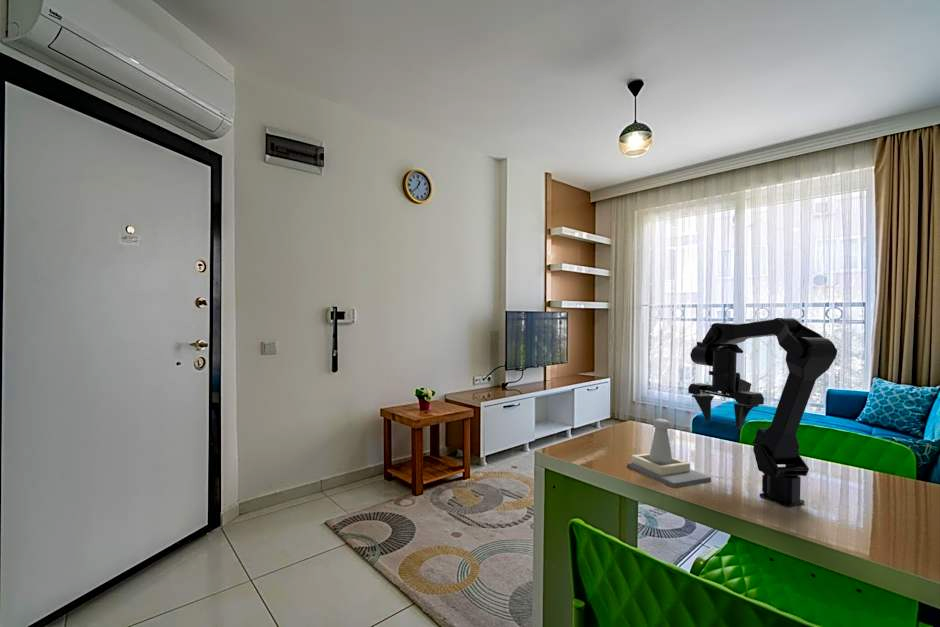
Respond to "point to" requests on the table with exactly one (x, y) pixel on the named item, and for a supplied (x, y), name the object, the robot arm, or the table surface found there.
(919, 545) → the table surface
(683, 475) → the build board
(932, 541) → the table surface
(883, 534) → the table surface
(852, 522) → the table surface
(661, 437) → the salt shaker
